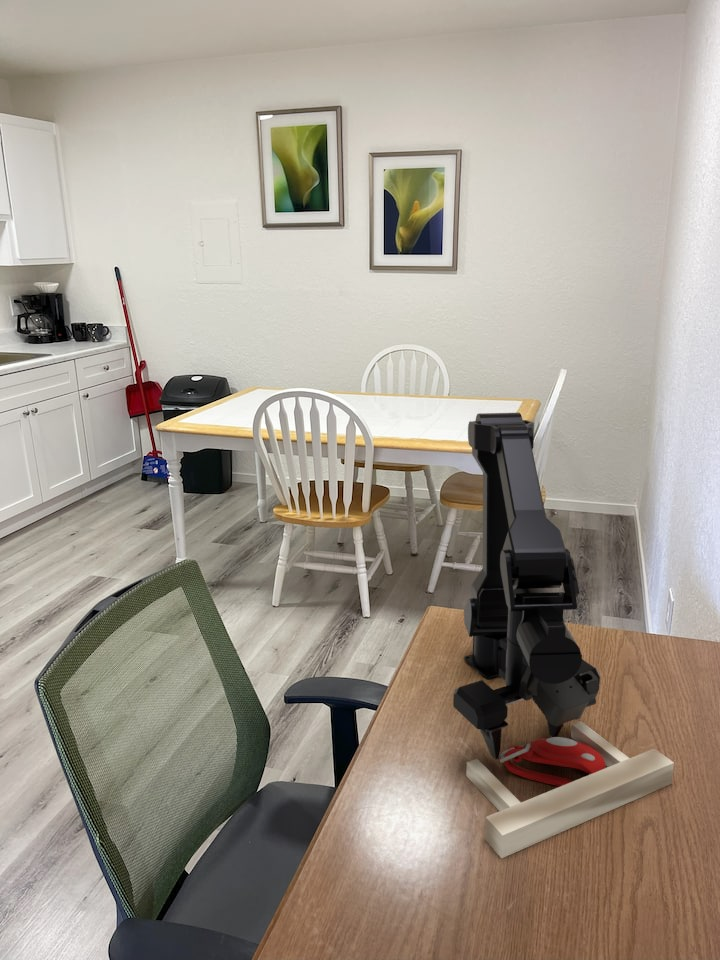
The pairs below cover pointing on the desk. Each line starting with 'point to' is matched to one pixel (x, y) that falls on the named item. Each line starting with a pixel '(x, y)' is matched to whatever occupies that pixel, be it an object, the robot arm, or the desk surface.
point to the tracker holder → (553, 758)
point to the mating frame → (568, 794)
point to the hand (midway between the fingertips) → (524, 746)
